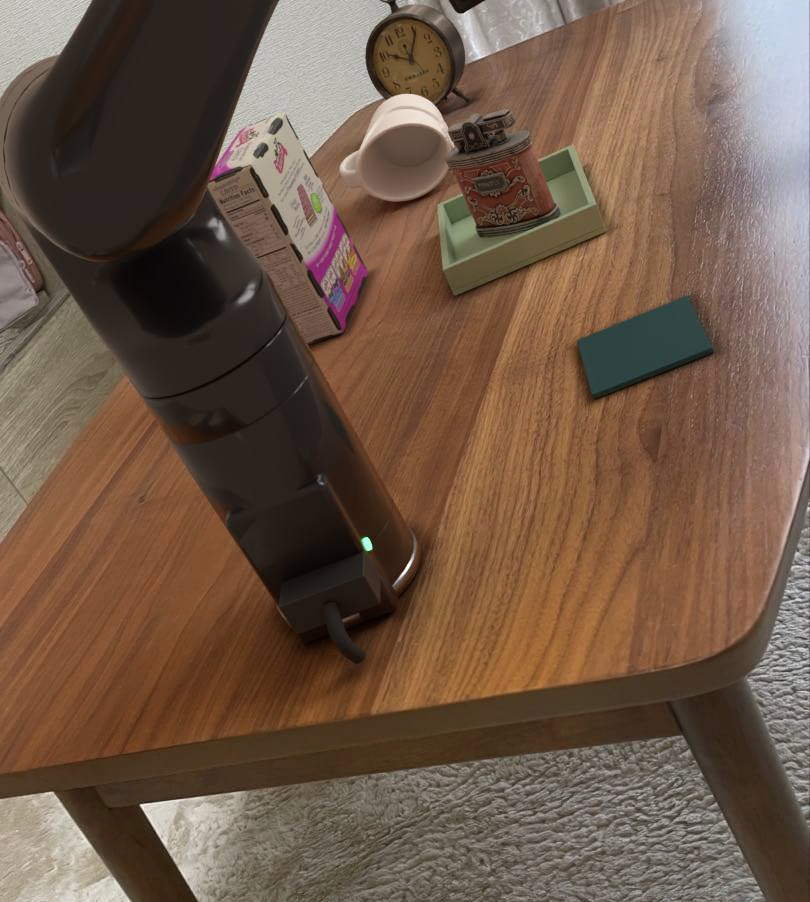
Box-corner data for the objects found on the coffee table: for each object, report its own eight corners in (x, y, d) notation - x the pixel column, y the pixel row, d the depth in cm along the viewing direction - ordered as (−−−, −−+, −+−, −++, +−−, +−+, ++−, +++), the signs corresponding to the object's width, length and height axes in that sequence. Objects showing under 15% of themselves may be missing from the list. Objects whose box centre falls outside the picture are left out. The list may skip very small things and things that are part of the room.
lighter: (472, 242, 108) (425, 137, 103) (489, 221, 110) (444, 117, 105) (551, 228, 103) (506, 116, 98) (567, 207, 105) (524, 96, 100)
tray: (606, 231, 99) (596, 203, 98) (454, 296, 102) (442, 270, 101) (582, 169, 111) (572, 144, 110) (447, 228, 114) (436, 204, 113)
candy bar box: (323, 289, 116) (238, 128, 107) (370, 273, 114) (287, 107, 105) (293, 351, 107) (198, 182, 99) (344, 335, 105) (251, 160, 97)
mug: (464, 148, 130) (434, 77, 126) (465, 180, 122) (432, 105, 118) (361, 193, 133) (328, 125, 129) (355, 227, 126) (320, 155, 121)
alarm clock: (392, 132, 146) (330, -2, 138) (408, 112, 150) (349, -20, 141) (473, 106, 140) (414, -36, 132) (487, 86, 144) (431, -53, 135)
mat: (714, 352, 78) (712, 347, 78) (593, 399, 80) (591, 394, 80) (688, 300, 85) (687, 295, 84) (578, 344, 86) (576, 340, 86)
